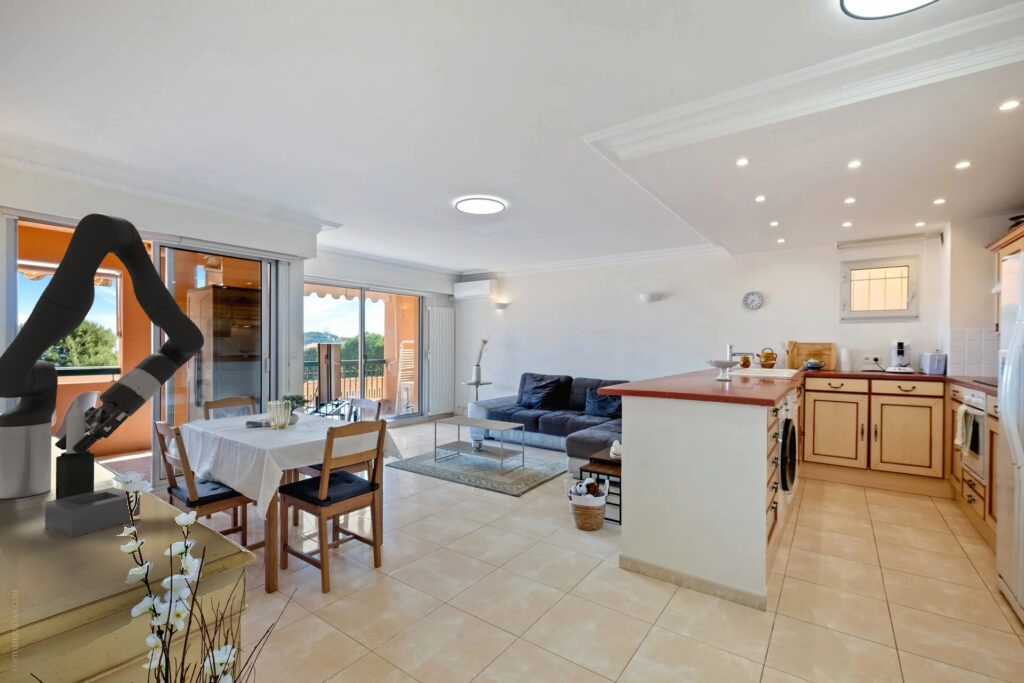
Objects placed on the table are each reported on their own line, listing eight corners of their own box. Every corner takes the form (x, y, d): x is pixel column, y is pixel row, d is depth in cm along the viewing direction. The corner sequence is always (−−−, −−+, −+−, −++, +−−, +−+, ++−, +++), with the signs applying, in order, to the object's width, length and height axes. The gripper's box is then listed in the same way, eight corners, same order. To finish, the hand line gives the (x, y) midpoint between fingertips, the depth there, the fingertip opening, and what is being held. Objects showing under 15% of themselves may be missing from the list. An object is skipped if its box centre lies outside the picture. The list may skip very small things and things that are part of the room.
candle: (96, 511, 102) (97, 397, 102) (67, 519, 97) (69, 400, 98) (81, 509, 104) (82, 397, 104) (52, 517, 99) (54, 399, 99)
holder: (44, 526, 93) (45, 501, 93) (112, 510, 103) (112, 487, 103) (71, 537, 88) (71, 511, 88) (139, 518, 97) (140, 494, 97)
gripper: (103, 380, 111) (37, 436, 101) (133, 382, 104) (65, 442, 94) (129, 400, 115) (68, 456, 105) (160, 403, 109) (98, 463, 98)
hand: (67, 449), depth 99 cm, fingers open, 8 cm apart
